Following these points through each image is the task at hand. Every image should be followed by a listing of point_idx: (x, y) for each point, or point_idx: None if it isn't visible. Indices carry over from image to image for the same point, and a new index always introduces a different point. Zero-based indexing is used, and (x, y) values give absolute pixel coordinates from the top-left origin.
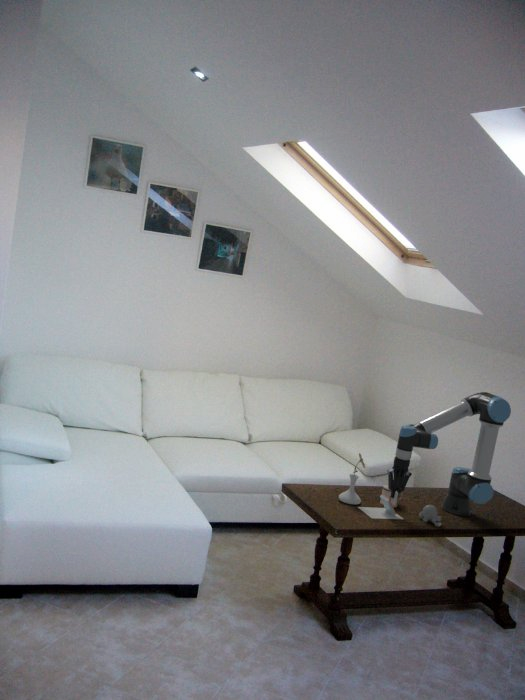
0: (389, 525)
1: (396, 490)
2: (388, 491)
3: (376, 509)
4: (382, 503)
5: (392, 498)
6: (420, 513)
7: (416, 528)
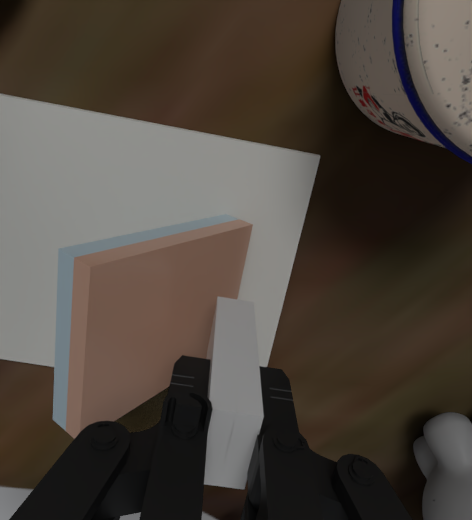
0: (44, 449)
1: (255, 453)
2: (406, 79)
3: (128, 174)
4: (338, 29)
5: (209, 358)
6: (437, 449)
7: (241, 507)
